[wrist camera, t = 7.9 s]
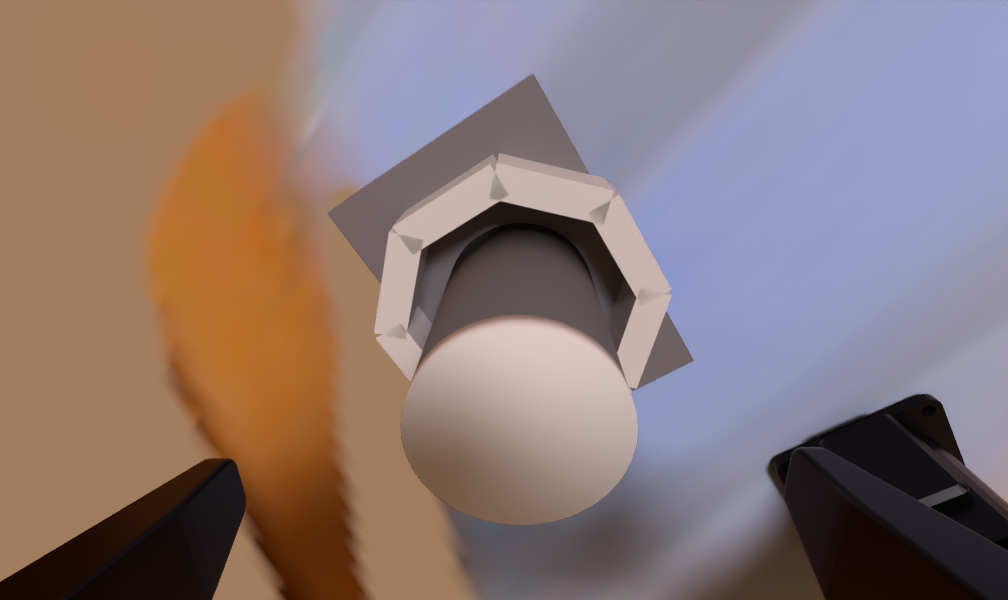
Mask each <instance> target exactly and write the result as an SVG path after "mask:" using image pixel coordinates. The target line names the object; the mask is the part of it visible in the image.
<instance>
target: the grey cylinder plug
mask: <svg viewBox="0 0 1008 600" xmlns="http://www.w3.org/2000/svg"><path fill="white" fill-rule="evenodd" d="M401 438H402V443H403V448H404V451H405V454H406V456H407V459H408V461H409V463H410V465H411V467H412V469H413V470H414V472H415V474H416V475H417V476H418V478H419V479H420V480H421V482H422V483H423V484H424V485H425V486H426V487H427V488H428V489H429V490H430V491H431V492H432V493H433V494H434V495H435V496H437V497H438V498H439V499H440V500H442V501H443V502H445V503H446V504H448V505H449V506H451V507H452V508H454V509H456V510H458V511H460V512H462V513H464V514H467V515H469V516H472V517H475V518H477V519H481V520H485V521H489V522H492V523H499V524H506V525H536V524H543V523H549V522H553V521H557V520H561V519H564V518H567V517H570V516H572V515H575V514H577V513H579V512H581V511H583V510H585V509H587V508H589V507H591V506H592V505H594V504H595V503H597V502H598V501H600V500H601V499H602V498H603V497H604V496H606V495H607V494H608V493H609V492H610V491H611V490H612V489H613V488H614V487H615V486H616V485H617V484H618V482H619V481H620V480H621V478H622V477H623V475H624V474H625V472H626V471H627V469H628V467H629V465H630V463H631V461H632V458H633V455H634V452H635V449H636V444H637V438H638V420H637V414H636V408H635V405H634V402H633V399H632V396H631V393H630V390H629V387H628V384H627V381H626V378H625V375H624V372H623V369H622V366H621V363H620V360H619V357H618V354H617V351H616V348H615V345H614V342H613V339H612V336H611V333H610V330H609V327H608V324H607V321H606V318H605V315H604V312H603V309H602V306H601V303H600V300H599V297H598V294H597V291H596V288H595V285H594V282H593V279H592V276H591V273H590V270H589V267H588V265H587V263H586V261H585V259H584V257H583V256H582V254H581V253H580V251H579V250H578V249H577V248H576V247H575V246H574V245H573V243H571V242H570V241H569V240H568V239H567V238H565V237H564V236H562V235H561V234H559V233H558V232H556V231H553V230H551V229H549V228H546V227H543V226H540V225H535V224H529V223H514V224H506V225H502V226H498V227H495V228H492V229H490V230H488V231H486V232H484V233H482V234H480V235H479V236H478V237H476V238H475V239H473V240H472V241H471V242H470V243H469V244H468V245H467V246H466V247H465V248H464V250H463V251H462V252H461V253H460V255H459V257H458V258H457V260H456V262H455V264H454V266H453V269H452V271H451V274H450V277H449V280H448V282H447V285H446V288H445V291H444V293H443V296H442V299H441V302H440V304H439V307H438V310H437V313H436V315H435V318H434V321H433V324H432V326H431V329H430V332H429V335H428V337H427V340H426V343H425V346H424V348H423V351H422V354H421V357H420V359H419V362H418V365H417V368H416V370H415V373H414V376H413V379H412V381H411V384H410V387H409V390H408V392H407V395H406V398H405V401H404V405H403V409H402V415H401Z"/></svg>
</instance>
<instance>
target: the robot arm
mask: <svg viewBox="0 0 1008 600" xmlns="http://www.w3.org/2000/svg"><path fill="white" fill-rule="evenodd" d="M926 406H927V408H925V407H926ZM923 408H925V409H924V410H923ZM788 465H789V467H788V468H785V467H786V466H788ZM773 467H774V470H775V472H776V473H777V475H778V477H779V479H780V481H781V483H782V484H783V486H784V488H785V489H784V494H785V500H786V504H787V507H788V509H789V512H790V514H791V517H792V519H793V522H794V524H795V527H796V529H797V532H798V534H799V537H800V539H801V542H802V544H803V547H804V549H805V552H806V554H807V557H808V559H809V562H810V564H811V567H812V569H813V572H814V574H815V577H816V579H817V582H818V584H819V586H820V589H821V591H822V593H823V596H824V598H825V600H1008V503H1007V502H1006V501H1004V500H1003V499H1002V498H1001V497H1000V496H999V495H998V494H996V493H995V492H994V491H993V490H992V489H991V488H989V487H988V486H987V485H986V484H985V483H984V482H983V481H981V480H980V479H979V478H978V477H977V476H976V475H975V474H973V473H972V472H971V471H970V470H969V469H968V468H967V467H966V466H965V464H964V461H963V458H962V456H961V453H960V450H959V448H958V445H957V442H956V440H955V437H954V435H953V432H952V429H951V427H950V424H949V421H948V419H947V416H946V413H945V411H944V408H943V405H942V404H941V403H940V401H938V400H937V399H936V398H934V397H933V396H931V395H929V394H922V395H918V396H916V397H913V398H911V399H909V400H906V401H904V402H902V403H900V404H897V405H895V406H893V407H890V408H888V409H886V410H883V411H881V412H879V413H877V414H874V415H872V416H870V417H867V418H865V419H863V420H860V421H858V422H856V423H854V424H851V425H849V426H847V427H844V428H842V429H840V430H837V431H835V432H833V433H831V434H828V435H826V436H824V437H821V438H819V439H817V440H814V441H812V442H810V443H808V444H805V445H803V446H801V447H798V448H796V449H794V450H791V451H789V452H787V453H785V454H782V455H780V456H779V457H777V458H776V459H775V461H774V463H773ZM784 468H785V469H784ZM245 508H246V496H245V492H244V488H243V485H242V481H241V478H240V475H239V471H238V468H237V465H236V463H235V462H234V460H232V459H230V458H210V459H206V460H203V461H202V462H200V463H198V464H197V465H195V466H193V467H192V468H190V469H188V470H187V471H185V472H183V473H181V474H180V475H178V476H176V477H175V478H174V479H172V480H170V481H168V482H167V483H165V484H163V485H161V486H160V487H158V488H156V489H155V490H153V491H151V492H150V493H148V494H146V495H145V496H143V497H141V498H140V499H138V500H136V501H135V502H133V503H131V504H130V505H128V506H126V507H125V508H123V509H121V510H120V511H118V512H116V513H115V514H113V515H111V516H110V517H108V518H106V519H105V520H103V521H101V522H100V523H98V524H97V525H95V526H93V527H91V528H90V529H88V530H86V531H85V532H83V533H81V534H79V535H78V536H76V537H75V538H73V539H71V540H69V541H68V542H66V543H64V544H63V545H61V546H59V547H58V548H56V549H54V550H53V551H51V552H49V553H48V554H46V555H44V556H43V557H41V558H39V559H38V560H36V561H34V562H33V563H31V564H29V565H28V566H26V567H24V568H23V569H21V570H19V571H18V572H16V573H14V574H13V575H11V576H9V577H7V578H6V579H4V580H2V581H1V582H0V600H212V598H213V596H214V593H215V591H216V588H217V586H218V583H219V580H220V577H221V575H222V572H223V570H224V567H225V564H226V561H227V559H228V556H229V553H230V551H231V548H232V545H233V542H234V540H235V537H236V534H237V532H238V529H239V526H240V524H241V521H242V518H243V515H244V512H245Z"/></svg>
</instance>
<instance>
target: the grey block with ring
mask: <svg viewBox="0 0 1008 600" xmlns="http://www.w3.org/2000/svg"><path fill="white" fill-rule="evenodd" d="M327 214H328V215H329V216H330V218H331V219H332V220H333V222H334V223H335V224H336V226H337V227H338V228H339V229H340V231H341V232H342V233H343V235H344V236H345V237H346V239H347V240H348V241H349V243H350V244H351V245H352V247H353V248H354V249H355V251H356V252H357V253H358V254H359V256H360V257H361V258H362V260H363V261H364V262H365V264H366V265H367V266H368V268H369V269H370V270H371V272H372V273H373V274H374V275H375V277H376V278H377V280H378V281H379V282H380V283H381V289H380V295H379V302H378V309H377V316H376V322H375V329H374V333H376V334H378V335H377V337H376V340H377V341H378V342H379V344H380V345H381V346H382V347H383V349H384V350H385V351H386V352H387V353H388V355H389V356H390V357H391V358H392V360H393V361H394V362H395V364H396V365H397V366H398V367H399V369H400V370H401V371H402V372H403V374H404V375H405V376H406V377H407V379H408V380H409V381H410V382H411V381H412V379H413V376H414V373H415V370H416V368H417V365H418V362H419V359H420V357H421V354H422V351H423V348H424V346H425V343H426V340H427V337H428V335H429V332H430V329H431V326H432V324H433V321H434V318H435V315H436V313H437V310H438V307H439V304H440V302H441V299H442V296H443V293H444V291H445V288H446V285H447V282H448V280H449V277H450V274H451V271H452V269H453V266H454V264H455V262H456V260H457V258H458V257H459V255H460V253H461V252H462V251H463V250H464V248H465V247H466V246H467V245H468V244H469V243H470V242H471V241H472V240H473V239H475V238H476V237H478V236H479V235H480V234H482V233H484V232H486V231H488V230H490V229H492V228H495V227H498V226H502V225H506V224H514V223H529V224H535V225H540V226H543V227H546V228H549V229H551V230H553V231H556V232H558V233H559V234H561V235H562V236H564V237H565V238H567V239H568V240H569V241H570V242H571V243H573V245H574V246H575V247H576V248H577V249H578V250H579V251H580V253H581V254H582V256H583V257H584V259H585V261H586V263H587V265H588V267H589V270H590V273H591V276H592V279H593V282H594V285H595V288H596V291H597V294H598V297H599V300H600V303H601V306H602V309H603V312H604V315H605V318H606V321H607V324H608V327H609V330H610V333H611V336H612V339H613V342H614V345H615V348H616V351H617V354H618V357H619V360H620V363H621V366H622V369H623V372H624V375H625V378H626V381H627V384H628V387H629V390H630V393H633V392H632V391H634V390H636V389H638V388H640V387H642V386H644V385H646V384H648V383H650V382H652V381H654V380H656V379H658V378H660V377H662V376H664V375H666V374H668V373H670V372H672V371H674V370H676V369H678V368H680V367H682V366H684V365H686V364H688V363H690V362H692V361H694V360H693V358H692V356H691V354H690V353H689V351H688V349H687V347H686V346H685V344H684V342H683V340H682V338H681V337H680V335H679V333H678V331H677V329H676V328H675V326H674V324H673V322H672V321H671V319H670V317H669V315H668V313H667V312H666V310H667V307H668V305H669V302H670V299H671V297H672V295H671V294H670V292H669V291H670V290H672V289H671V288H670V286H669V284H668V282H667V280H666V279H665V277H664V275H663V273H662V271H661V269H660V268H659V266H658V264H657V262H656V260H655V258H654V257H653V255H652V253H651V251H650V249H649V247H648V246H647V244H646V242H645V240H644V238H643V237H642V235H641V233H640V231H639V229H638V227H637V226H636V224H635V222H634V220H633V218H632V216H631V215H630V213H629V211H628V209H627V207H626V205H625V204H624V202H623V200H622V198H621V196H620V195H619V193H618V192H617V191H616V190H615V189H614V188H613V186H612V185H611V184H610V183H609V182H607V181H606V180H605V179H604V178H602V177H598V176H593V175H590V174H589V172H588V171H587V169H586V167H585V165H584V164H583V162H582V160H581V158H580V156H579V155H578V153H577V151H576V149H575V147H574V146H573V144H572V142H571V140H570V139H569V137H568V135H567V133H566V131H565V130H564V128H563V126H562V124H561V122H560V121H559V119H558V117H557V115H556V114H555V112H554V110H553V108H552V106H551V105H550V103H549V101H548V99H547V97H546V96H545V94H544V92H543V90H542V89H541V87H540V85H539V83H538V81H537V80H536V78H535V76H534V74H532V75H530V76H528V77H527V78H525V79H524V80H522V81H521V82H519V83H518V84H516V85H515V86H513V87H512V88H510V89H509V90H507V91H506V92H504V93H503V94H501V95H500V96H498V97H497V98H495V99H494V100H492V101H491V102H489V103H488V104H487V105H485V106H484V107H482V108H481V109H479V110H478V111H476V112H475V113H473V114H472V115H470V116H469V117H467V118H466V119H464V120H463V121H461V122H460V123H458V124H457V125H455V126H454V127H452V128H451V129H449V130H448V131H446V132H445V133H443V134H442V135H440V136H439V137H438V138H436V139H435V140H433V141H432V142H430V143H429V144H427V145H426V146H424V147H423V148H421V149H420V150H418V151H417V152H415V153H414V154H412V155H411V156H409V157H408V158H406V159H405V160H403V161H402V162H400V163H399V164H397V165H396V166H394V167H393V168H391V169H390V170H389V171H387V172H386V173H384V174H383V175H381V176H380V177H378V178H377V179H375V180H374V181H372V182H371V183H369V184H368V185H366V186H365V187H363V188H362V189H360V190H359V191H357V192H356V193H354V194H353V195H352V196H350V197H349V198H348V199H346V200H345V201H343V202H342V203H341V204H339V205H338V206H336V207H335V208H334V209H332V210H331V211H330V212H328V213H327Z"/></svg>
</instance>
